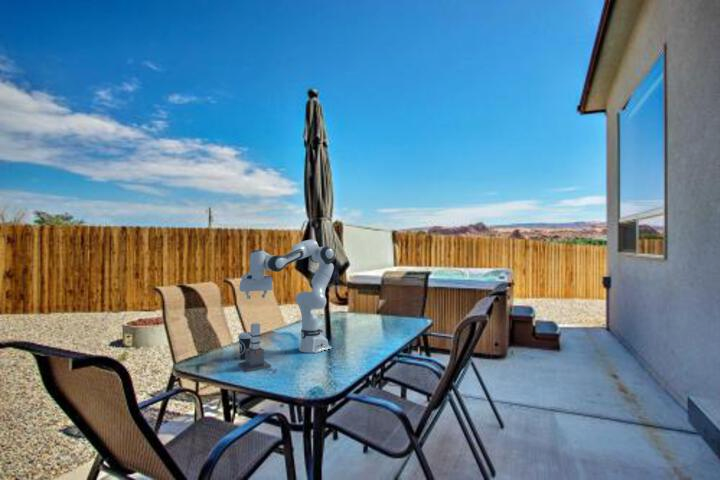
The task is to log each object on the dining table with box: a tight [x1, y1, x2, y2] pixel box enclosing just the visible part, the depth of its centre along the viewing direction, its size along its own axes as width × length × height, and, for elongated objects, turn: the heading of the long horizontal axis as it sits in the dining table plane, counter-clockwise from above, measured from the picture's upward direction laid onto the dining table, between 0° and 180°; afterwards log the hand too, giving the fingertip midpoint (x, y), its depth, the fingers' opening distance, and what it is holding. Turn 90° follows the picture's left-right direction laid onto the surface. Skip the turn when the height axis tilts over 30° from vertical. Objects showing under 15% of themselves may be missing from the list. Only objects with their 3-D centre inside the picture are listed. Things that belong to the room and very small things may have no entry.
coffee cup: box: [237, 331, 251, 361], centre depth 225 cm, size 10×10×15 cm
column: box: [250, 322, 261, 351], centre depth 209 cm, size 4×4×16 cm
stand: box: [237, 347, 272, 373], centre depth 208 cm, size 14×14×10 cm
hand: (256, 298), depth 225 cm, fingers open, 8 cm apart
